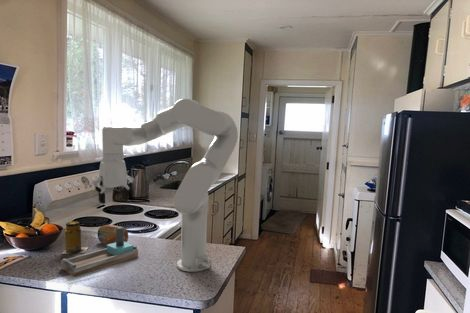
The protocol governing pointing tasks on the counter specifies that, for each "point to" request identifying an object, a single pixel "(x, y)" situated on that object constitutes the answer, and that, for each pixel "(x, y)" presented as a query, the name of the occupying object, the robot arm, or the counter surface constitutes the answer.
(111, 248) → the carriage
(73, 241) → the condiment
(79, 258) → the rail board
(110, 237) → the orange brown rounded block
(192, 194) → the robot arm
